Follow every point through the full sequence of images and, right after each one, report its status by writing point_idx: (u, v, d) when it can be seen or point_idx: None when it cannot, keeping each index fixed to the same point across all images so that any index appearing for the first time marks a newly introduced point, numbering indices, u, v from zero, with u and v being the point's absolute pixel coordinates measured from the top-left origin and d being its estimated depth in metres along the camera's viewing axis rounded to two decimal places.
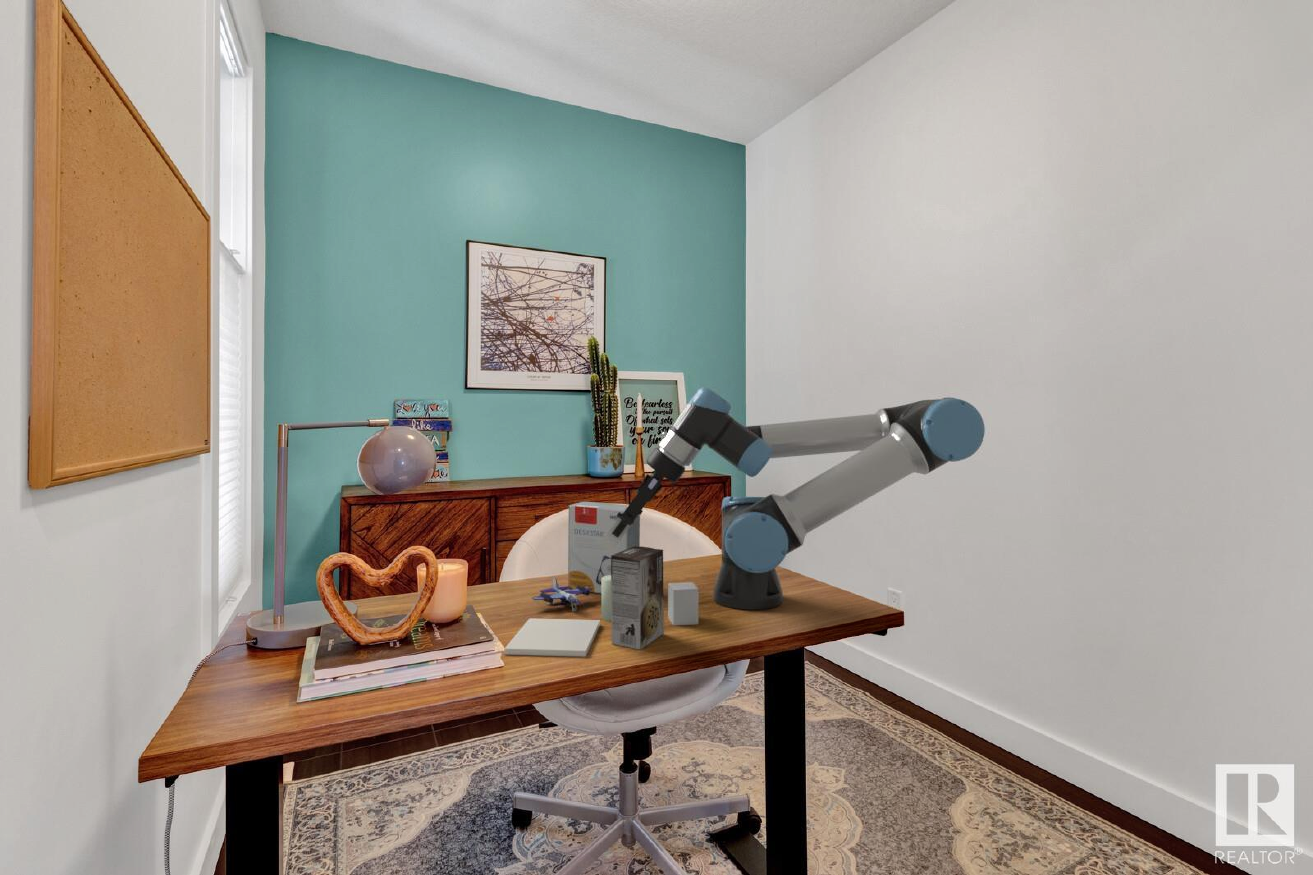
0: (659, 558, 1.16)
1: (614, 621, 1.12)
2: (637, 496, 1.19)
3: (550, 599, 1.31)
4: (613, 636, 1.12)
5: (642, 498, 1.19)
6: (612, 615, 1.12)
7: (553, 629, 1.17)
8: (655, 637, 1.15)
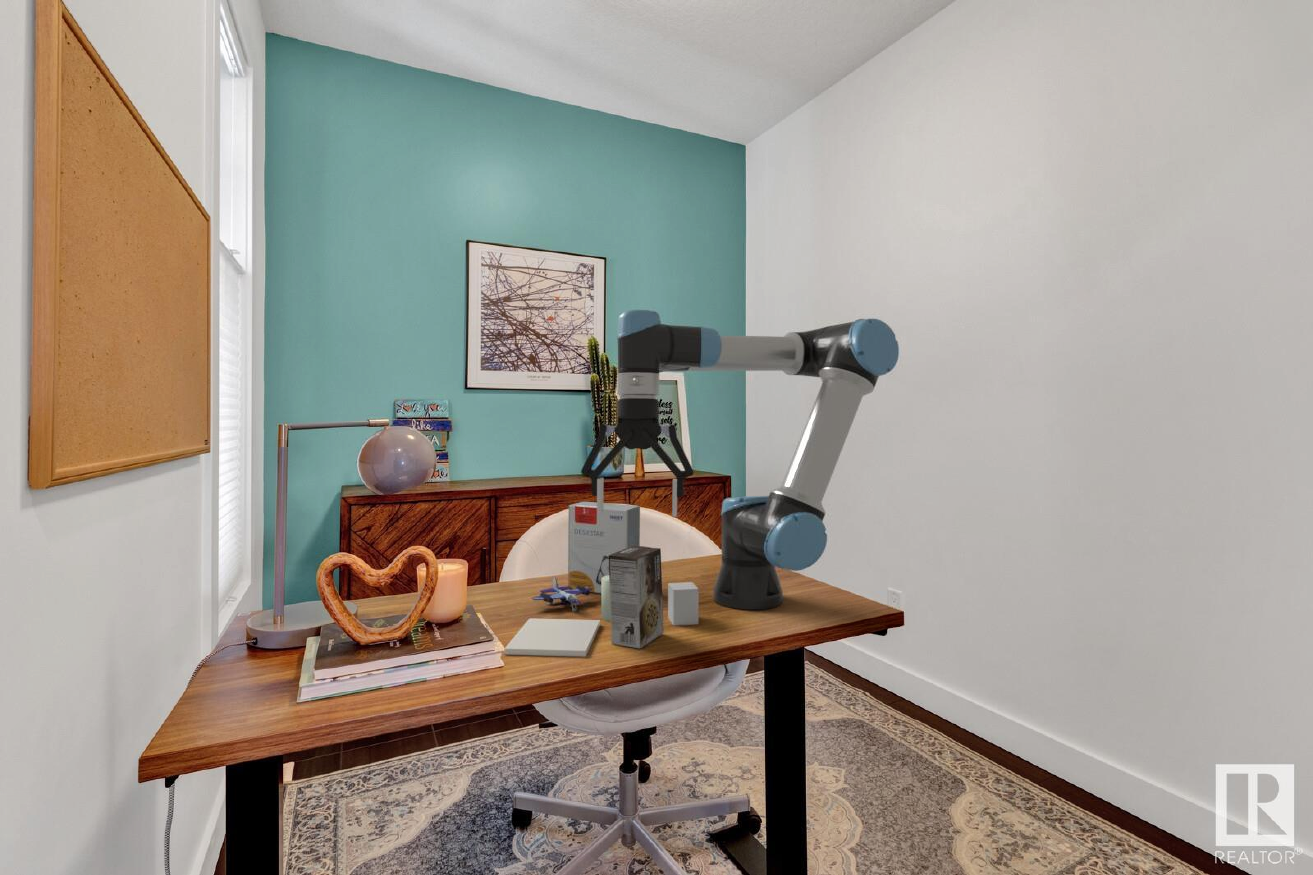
0: (657, 556, 1.16)
1: (613, 621, 1.12)
2: (682, 449, 1.13)
3: (550, 599, 1.31)
4: (613, 636, 1.12)
5: None
6: (611, 615, 1.12)
7: (553, 629, 1.17)
8: (655, 636, 1.15)
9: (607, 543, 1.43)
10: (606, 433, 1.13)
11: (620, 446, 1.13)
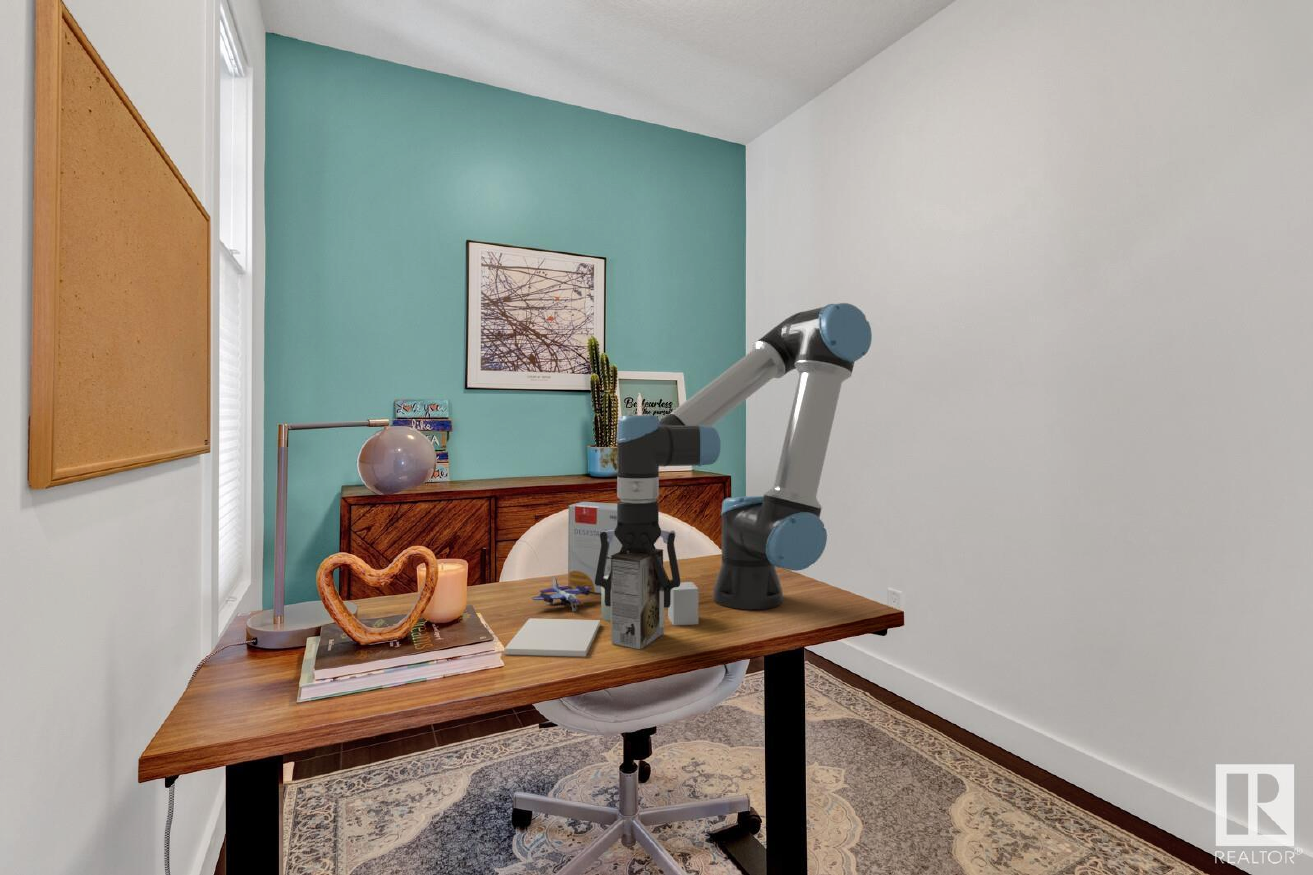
0: (659, 557, 1.16)
1: (614, 621, 1.12)
2: (675, 559, 1.13)
3: (550, 599, 1.31)
4: (613, 636, 1.12)
5: (675, 556, 1.14)
6: (612, 615, 1.12)
7: (553, 629, 1.17)
8: (655, 637, 1.15)
9: None
10: (608, 540, 1.14)
11: (624, 552, 1.13)
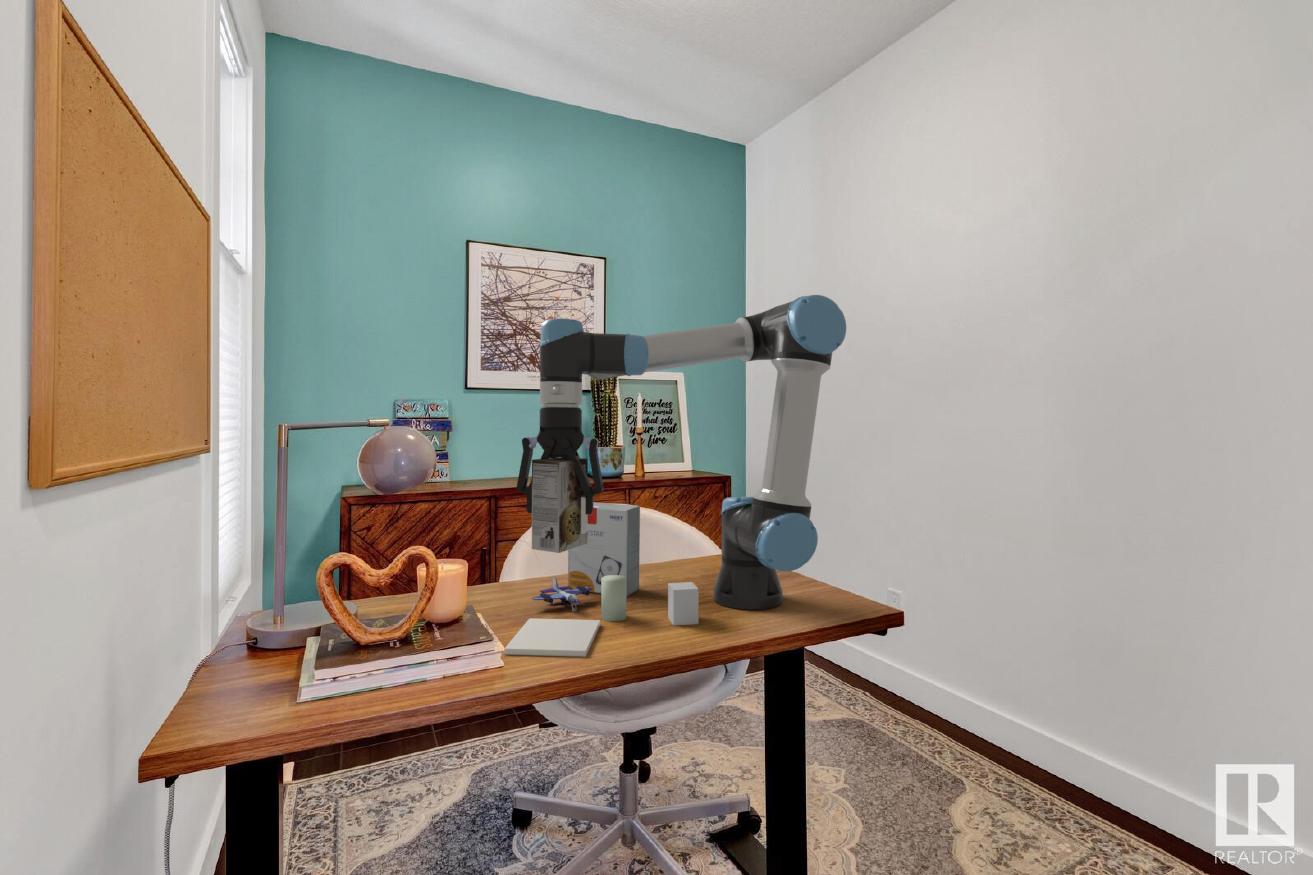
0: (582, 465, 1.15)
1: (534, 526, 1.11)
2: (597, 465, 1.13)
3: (550, 599, 1.31)
4: (533, 541, 1.12)
5: (598, 463, 1.14)
6: (532, 520, 1.12)
7: (553, 629, 1.17)
8: (577, 544, 1.14)
9: (607, 543, 1.43)
10: (530, 445, 1.13)
11: (546, 457, 1.12)
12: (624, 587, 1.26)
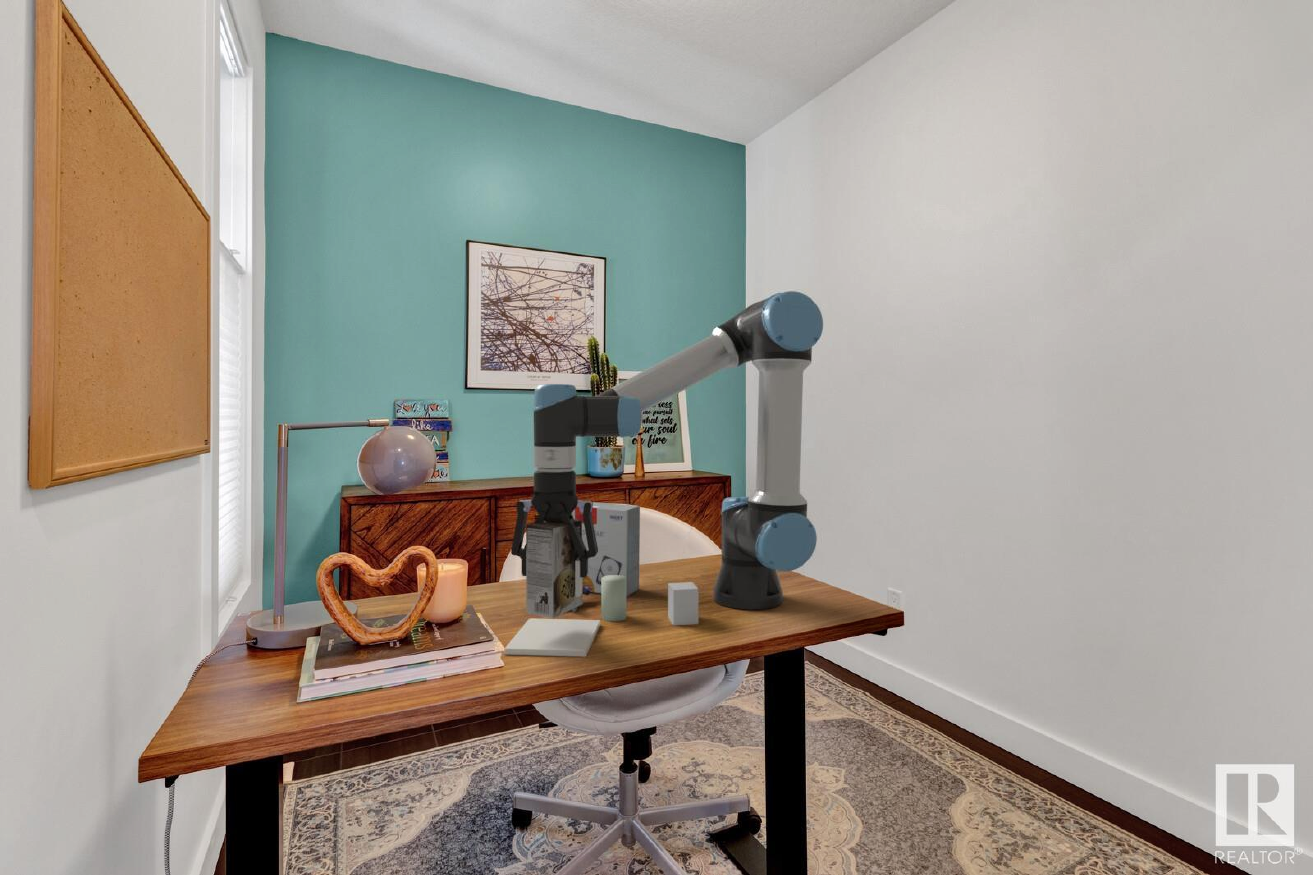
0: (577, 527, 1.15)
1: (529, 590, 1.12)
2: (592, 529, 1.13)
3: None
4: (528, 605, 1.12)
5: (592, 526, 1.14)
6: (527, 584, 1.12)
7: (553, 629, 1.17)
8: (572, 607, 1.14)
9: (607, 543, 1.43)
10: (524, 509, 1.13)
11: (540, 521, 1.13)
12: (624, 587, 1.26)
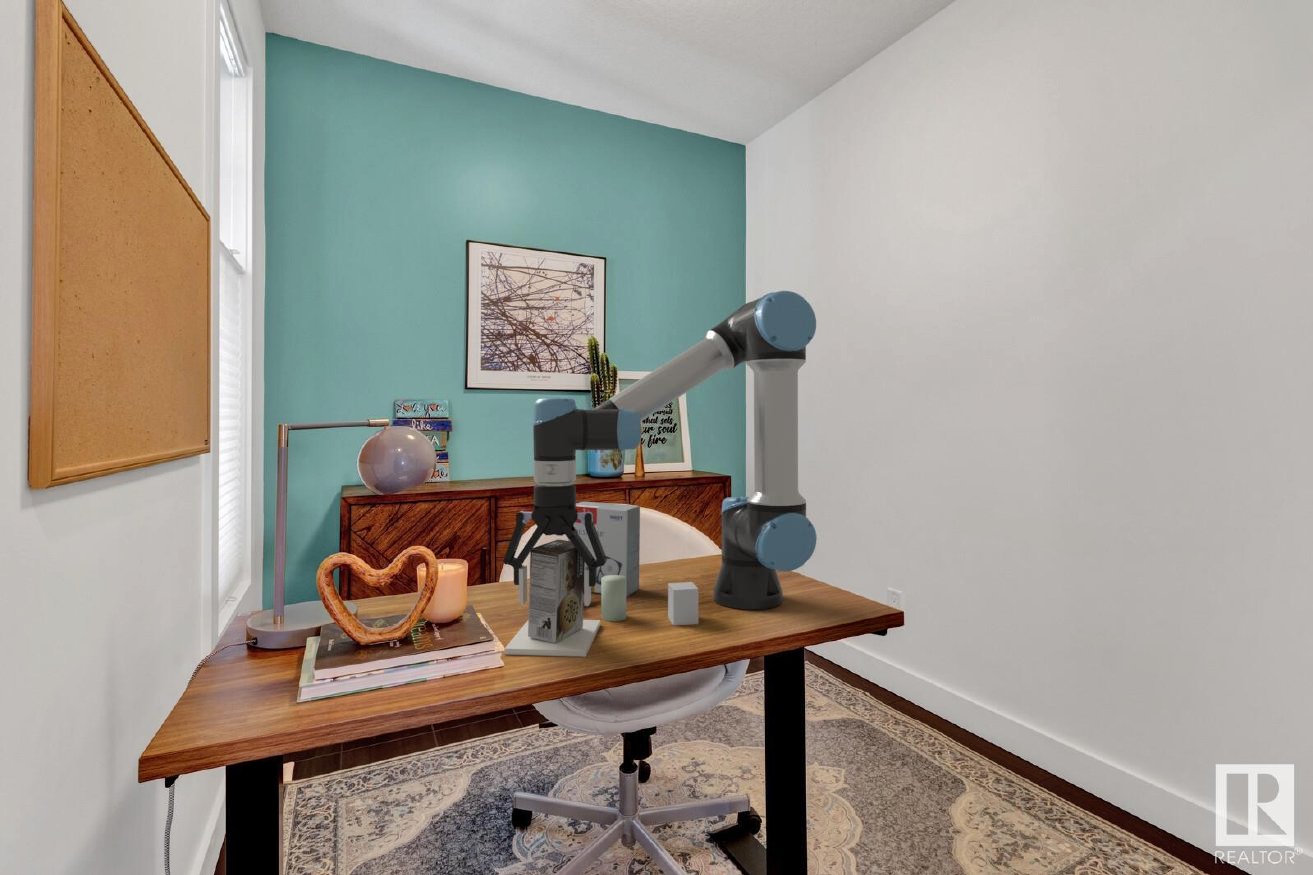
0: None
1: (531, 614, 1.12)
2: (596, 538, 1.13)
3: None
4: (530, 629, 1.12)
5: (596, 536, 1.14)
6: (529, 608, 1.12)
7: None
8: (573, 631, 1.15)
9: (607, 543, 1.43)
10: (523, 521, 1.14)
11: (538, 534, 1.13)
12: (624, 587, 1.26)
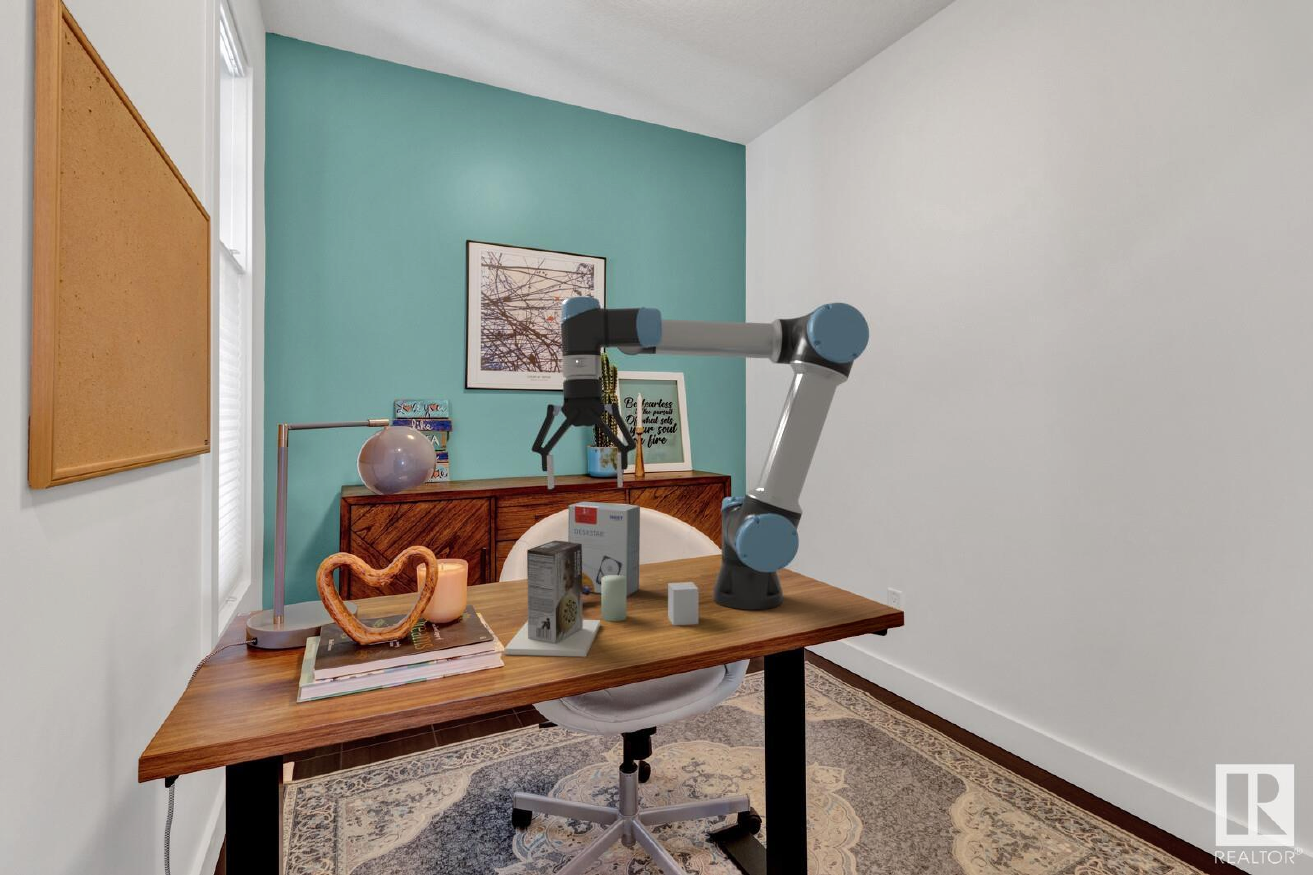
0: (577, 552, 1.16)
1: (530, 615, 1.12)
2: (625, 425, 1.22)
3: None
4: (529, 630, 1.12)
5: (624, 424, 1.23)
6: (528, 609, 1.12)
7: None
8: (573, 631, 1.15)
9: (607, 543, 1.43)
10: (553, 412, 1.22)
11: (567, 424, 1.21)
12: (624, 587, 1.26)
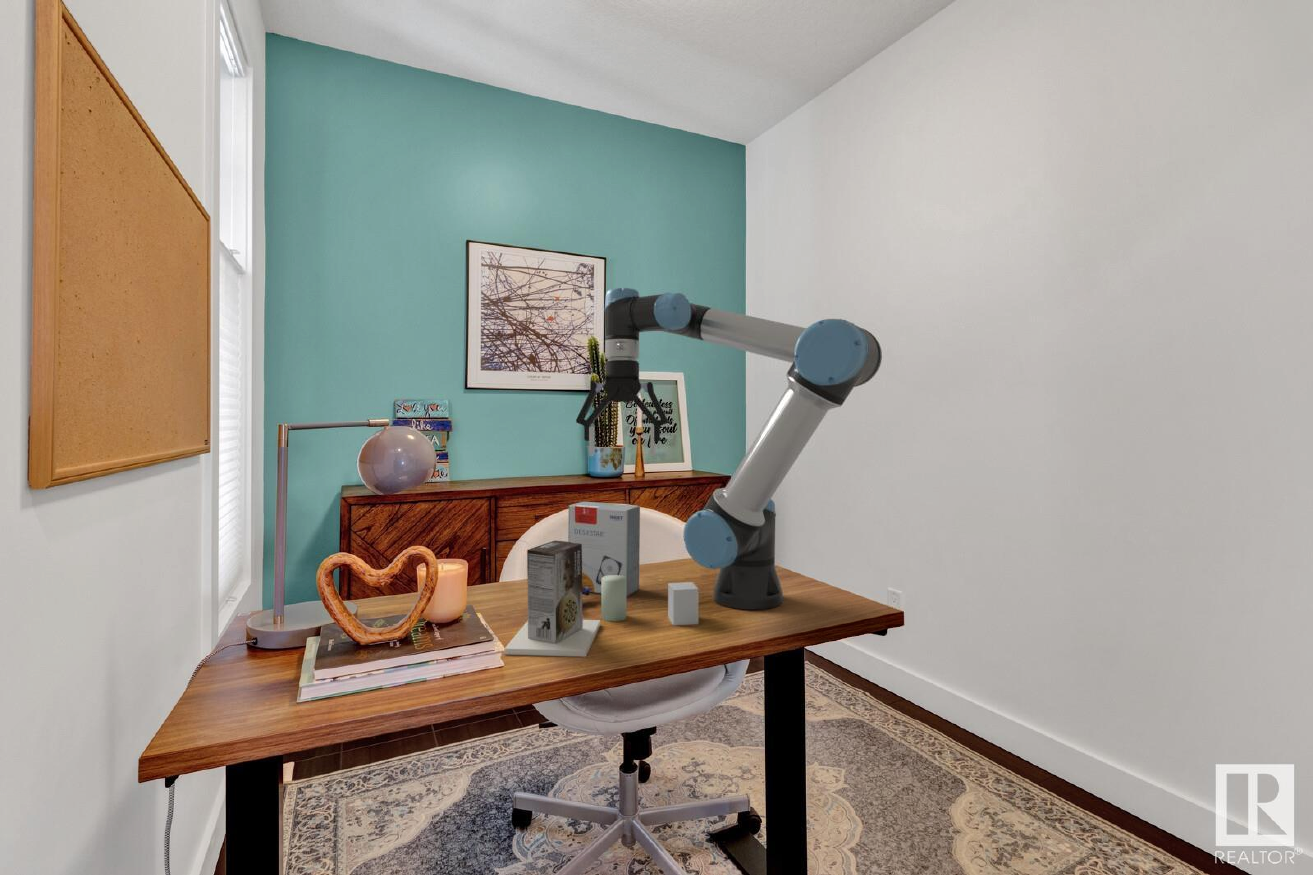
0: (577, 552, 1.16)
1: (530, 615, 1.12)
2: (658, 402, 1.39)
3: None
4: (529, 631, 1.12)
5: (658, 401, 1.40)
6: (528, 609, 1.12)
7: None
8: (573, 631, 1.15)
9: (607, 543, 1.43)
10: (596, 389, 1.39)
11: (607, 399, 1.38)
12: (624, 587, 1.26)
